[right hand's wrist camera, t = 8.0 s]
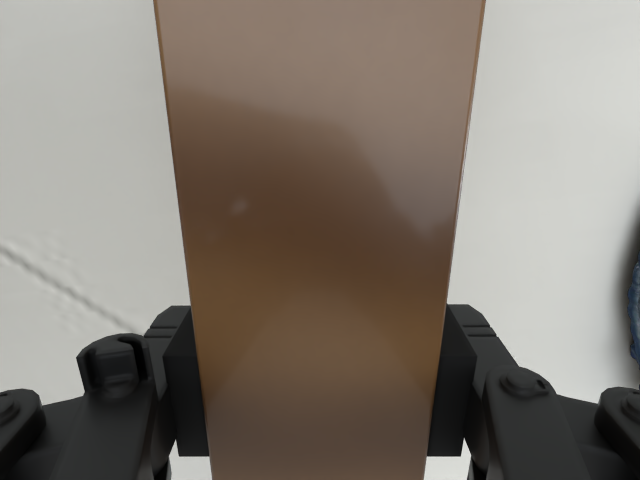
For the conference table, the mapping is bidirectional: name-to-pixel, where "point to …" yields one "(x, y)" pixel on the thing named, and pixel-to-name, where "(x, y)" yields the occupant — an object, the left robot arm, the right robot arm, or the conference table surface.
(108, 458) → the right robot arm
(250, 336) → the post
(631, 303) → the fish model
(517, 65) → the conference table surface
